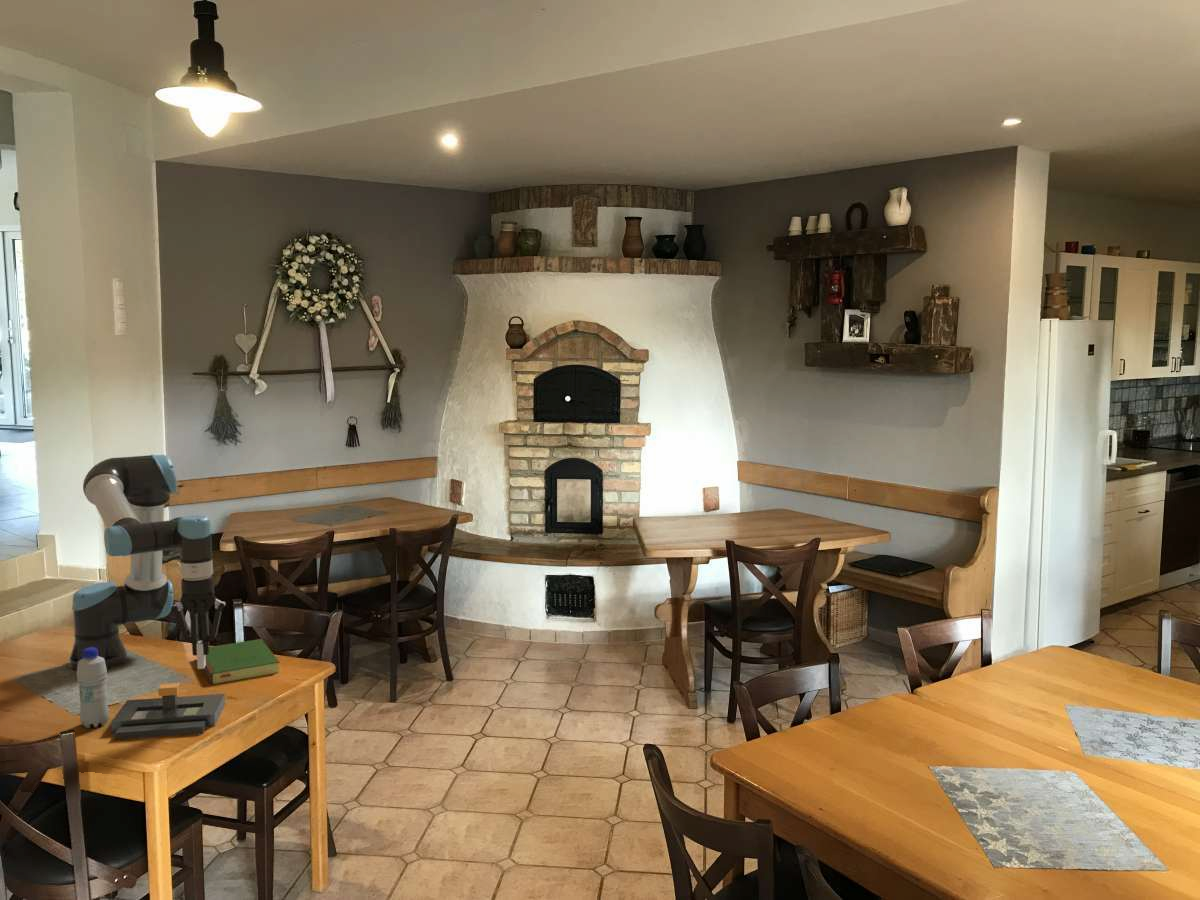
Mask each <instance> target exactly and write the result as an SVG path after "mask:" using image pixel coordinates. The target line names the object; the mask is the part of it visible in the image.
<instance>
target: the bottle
mask: <svg viewBox="0 0 1200 900" xmlns="http://www.w3.org/2000/svg"><path fill="white" fill-rule="evenodd" d="M107 671H108V668H106V664H105V660H104V658H103V657H99V656H98V649H97V648H94V647H90V648H86V649H84V651H83V659H82V660H80V661H79V662H78V666H77V670H76V677H77V679H76V680H77V682H78V688H79V702H80V703H79V704H80V705H79V707H80V708H79V717H80V723H81V725H82V726H83V727H86V728H87V729H90V728H91V726H92V725H93V727H94V728H98V727H99V725H100V726H104V725H105V724H107V723H106V722H108V720H109V717H110V716H109V705H108V698H107V697H108V696H107V695H108V693H107V676H108V674H107V673H108V672H107Z"/></svg>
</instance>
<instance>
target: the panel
mask: <svg viewBox="0 0 1200 900" xmlns="http://www.w3.org/2000/svg"><path fill="white" fill-rule="evenodd" d="M225 706H226V693H217V694H215V693H214V694H201V695H187V696H177V709H166V710H163V703H162V697H157V698H155V697H153V698H141V699H126V701H125V702H124V704H123V705H122V706H121V708H119V710H118V712H117V713H116V714H115V716H114V717H113V718H112V720H111V721H110V726H111V727H110V728H111V729H110V730H111V734H115V732H116V731H117V729H118V728H119V727H123V726H137V725H151V724H165V723H179V722H192V721H206V727H215V726H216V724H217V723H218V720H219V718H220V716H221V715H222V712H223V710H224V708H225Z"/></svg>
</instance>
